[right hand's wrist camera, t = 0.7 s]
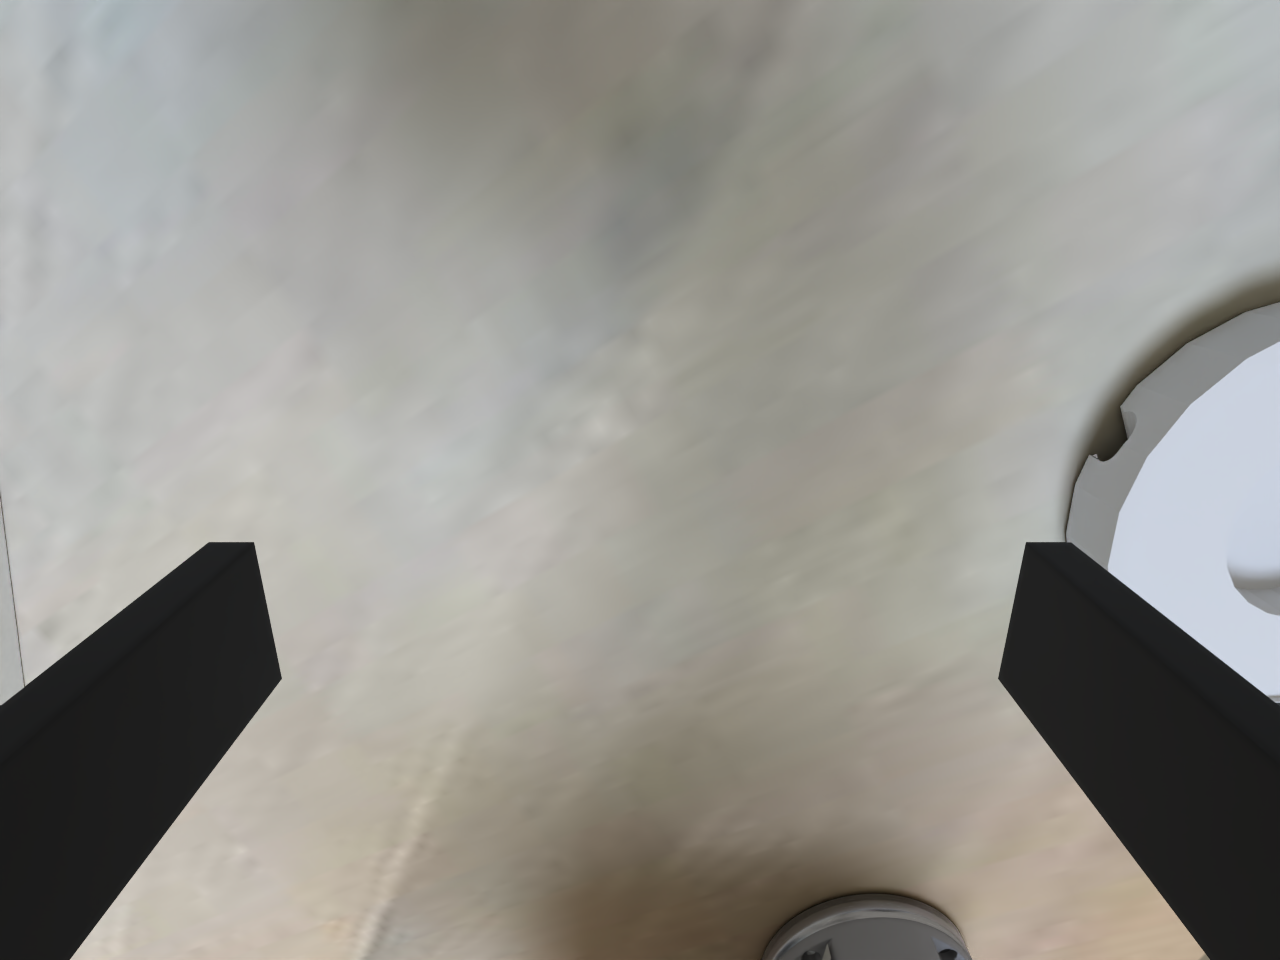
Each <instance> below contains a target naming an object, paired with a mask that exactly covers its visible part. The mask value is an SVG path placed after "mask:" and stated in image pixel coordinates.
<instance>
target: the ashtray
mask: <svg viewBox="0 0 1280 960" xmlns="http://www.w3.org/2000/svg"><path fill="white" fill-rule="evenodd" d="M1120 408H1121V412H1122V416H1123V421H1124V425H1125V429H1126V434H1127V438H1128V440H1127V441H1126V442H1125V443H1124V444H1123V446H1122V447H1121V448H1120V450H1119V451H1118V452H1117V453H1116V454H1115V455H1114V456H1113V457H1112V458H1111V459H1109V460H1108V461H1105V462H1102V461H1100V460H1099V459H1098V457H1097V454H1095V455H1089V456H1088V458H1087V460H1086V463H1085V465H1084V467H1083V469H1082V471H1081V473H1080V475H1079V477H1078V479H1077V482H1076V484H1075V488H1074V494H1073V499H1072V504H1071V510H1070V515H1069V520H1068V526H1067V531H1066V538H1067V542H1071V543H1073V544H1074V545H1075V546H1076V547H1078V548H1079V549H1080V550H1082V551H1083V552H1084V553H1085V554H1087V555H1088V556H1089V557H1090V558H1092V559H1093V560H1094V561H1096V562H1097V563H1098V564H1099V565H1101V566H1102V567H1103V568H1104V569H1106V570H1107V571H1108V572H1110V573H1111V574H1112V575H1113V576H1115V577H1116V578H1117V579H1118V580H1120V581H1121V582H1122V583H1124V584H1125V585H1126V586H1127V587H1129V588H1130V589H1131V590H1132V591H1134V592H1135V593H1136V594H1138V595H1139V596H1140V597H1141V598H1143V599H1144V600H1145V601H1147V602H1148V603H1149V604H1150V605H1152V606H1153V607H1154V608H1155V609H1157V610H1158V611H1159V612H1161V613H1162V614H1163V615H1164V616H1166V617H1167V618H1168V619H1169V620H1171V621H1172V622H1173V623H1175V624H1176V625H1177V626H1178V627H1180V628H1181V629H1182V630H1183V631H1185V632H1186V633H1187V634H1189V635H1190V636H1191V637H1192V638H1194V639H1195V640H1196V641H1198V642H1199V643H1200V644H1201V645H1203V646H1204V647H1205V648H1206V649H1208V650H1209V651H1210V652H1212V653H1213V654H1214V655H1215V656H1217V657H1218V658H1219V659H1220V660H1222V661H1223V662H1224V663H1226V664H1227V665H1228V666H1229V667H1231V668H1232V669H1233V670H1234V671H1236V672H1237V673H1238V674H1240V675H1241V676H1242V677H1243V678H1245V679H1246V680H1247V681H1249V682H1250V683H1251V684H1252V685H1254V686H1255V687H1256V688H1257V689H1259V690H1260V691H1261V692H1263V693H1264V694H1265V695H1266V696H1268V697H1269V698H1270V699H1271V700H1273V701H1274V702H1275V703H1280V302H1278V303H1275V304H1271V305H1268V306H1264V307H1261V308H1257V309H1254V310H1250V311H1247V312H1244V313H1243V314H1241V315H1239V316H1237V317H1235V318H1233V319H1231V320H1229V321H1228V322H1226V323H1224V324H1222V325H1220V326H1218V327H1216V328H1215V329H1213V330H1211V331H1209V332H1207V333H1205V334H1203V335H1202V336H1200V337H1198V338H1196V339H1194V340H1192V341H1190V342H1189V343H1187V344H1186V345H1185V346H1183V347H1182V348H1181V349H1180V350H1179V351H1177V352H1176V353H1175V354H1174V355H1173V356H1171V357H1170V358H1169V359H1168V360H1167V361H1165V362H1164V363H1163V364H1162V365H1161V366H1159V367H1158V368H1157V369H1156V370H1155V371H1153V372H1152V373H1151V374H1150V375H1149V376H1148V377H1146V378H1145V379H1144V380H1143V381H1142V382H1140V383H1139V384H1138V385H1137V386H1136V387H1135V389H1134V390H1133V391H1132V392H1131V394H1130V395H1129V396H1128V397H1127V399H1126V400H1125V401H1124V403H1123V404H1122V405H1121V406H1120Z"/></svg>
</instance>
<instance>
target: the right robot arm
mask: <svg viewBox="0 0 1280 960" xmlns="http://www.w3.org/2000/svg"><path fill="white" fill-rule="evenodd" d="M281 679H282V677H281V672H280V668H279V663H278V658H277V653H276V648H275V643H274V638H273V633H272V628H271V623H270V619H269V614H268V609H267V604H266V599H265V594H264V589H263V584H262V579H261V574H260V569H259V565H258V560H257V555H256V550H255V545H254V542H209V543H207V544H206V545H205V546H204V547H202V548H201V549H200V550H198V551H197V552H196V553H195V554H193V555H192V556H191V557H190V558H188V559H187V560H186V561H184V562H183V563H182V564H181V565H179V566H178V567H177V568H176V569H174V570H173V571H172V572H170V573H169V574H168V575H167V576H165V577H164V578H163V579H162V580H160V581H159V582H158V583H156V584H155V585H154V586H153V587H151V588H150V589H149V590H148V591H146V592H145V593H144V594H142V595H141V596H140V597H139V598H137V599H136V600H135V601H133V602H132V603H131V604H130V605H128V606H127V607H126V608H125V609H123V610H122V611H121V612H119V613H118V614H117V615H116V616H114V617H113V618H112V619H111V620H109V621H108V622H107V623H105V624H104V625H103V626H102V627H100V628H99V629H98V630H97V631H95V632H94V633H93V634H91V635H90V636H89V637H88V638H86V639H85V640H84V641H82V642H81V643H80V644H79V645H77V646H76V647H75V648H74V649H72V650H71V651H70V652H68V653H67V654H66V655H65V656H63V657H62V658H61V659H60V660H58V661H57V662H56V663H54V664H53V665H52V666H51V667H49V668H48V669H47V670H46V671H44V672H43V673H42V674H40V675H39V676H38V677H37V678H35V679H34V680H33V681H31V682H30V683H29V684H28V685H26V686H25V687H24V688H23V689H21V690H20V691H19V692H17V693H16V694H15V695H14V696H12V697H11V698H10V699H9V700H7V701H6V702H5V703H3V704H2V705H0V960H70V959H71V957H72V956H73V955H74V953H75V952H76V951H77V949H78V948H79V947H80V945H81V944H82V943H83V941H84V940H85V939H86V937H87V936H88V935H89V933H90V932H91V931H92V929H93V928H94V927H95V926H96V924H97V923H98V922H99V920H100V919H101V918H102V916H103V915H104V914H105V912H106V911H107V910H108V908H109V907H110V906H111V904H112V903H113V902H114V900H115V899H116V898H117V896H118V895H119V894H120V892H121V891H122V890H123V888H124V887H125V886H126V884H127V883H128V882H129V880H130V879H131V878H132V876H133V875H134V874H135V873H136V871H137V870H138V869H139V867H140V866H141V865H142V863H143V862H144V861H145V859H146V858H147V857H148V855H149V854H150V853H151V851H152V850H153V849H154V847H155V846H156V845H157V843H158V842H159V841H160V839H161V838H162V837H163V835H164V834H165V833H166V831H167V830H168V829H169V827H170V826H171V825H172V823H173V822H174V821H175V820H176V818H177V817H178V816H179V814H180V813H181V812H182V810H183V809H184V808H185V806H186V805H187V804H188V802H189V801H190V800H191V798H192V797H193V796H194V794H195V793H196V792H197V790H198V789H199V788H200V786H201V785H202V784H203V782H204V781H205V780H206V778H207V777H208V776H209V774H210V773H211V772H212V771H213V769H214V768H215V767H216V765H217V764H218V763H219V761H220V760H221V759H222V757H223V756H224V755H225V753H226V752H227V751H228V749H229V748H230V747H231V745H232V744H233V743H234V741H235V740H236V739H237V737H238V736H239V735H240V733H241V732H242V731H243V729H244V728H245V727H246V725H247V724H248V723H249V721H250V720H251V719H252V718H253V716H254V715H255V714H256V712H257V711H258V710H259V708H260V707H261V706H262V704H263V703H264V702H265V700H266V699H267V698H268V696H269V695H270V694H271V692H272V691H273V690H274V688H275V687H276V686H277V684H278V683H279V682H280V680H281ZM998 679H999V680H1000V682H1001V683H1002V684H1003V686H1004V687H1005V688H1006V690H1007V691H1008V692H1009V694H1010V695H1011V696H1012V698H1013V699H1014V700H1015V702H1016V703H1017V704H1018V706H1019V707H1020V708H1021V710H1022V711H1023V712H1024V714H1025V715H1026V716H1027V718H1028V719H1029V720H1030V721H1031V723H1032V724H1033V725H1034V727H1035V728H1036V729H1037V731H1038V732H1039V733H1040V735H1041V736H1042V737H1043V739H1044V740H1045V741H1046V743H1047V744H1048V745H1049V747H1050V748H1051V749H1052V751H1053V752H1054V753H1055V755H1056V756H1057V757H1058V759H1059V760H1060V761H1061V763H1062V764H1063V765H1064V767H1065V768H1066V769H1067V771H1068V772H1069V773H1070V774H1071V776H1072V777H1073V778H1074V780H1075V781H1076V782H1077V784H1078V785H1079V786H1080V788H1081V789H1082V790H1083V792H1084V793H1085V794H1086V796H1087V797H1088V798H1089V800H1090V801H1091V802H1092V804H1093V805H1094V806H1095V808H1096V809H1097V810H1098V812H1099V813H1100V814H1101V816H1102V817H1103V818H1104V820H1105V821H1106V822H1107V824H1108V825H1109V826H1110V827H1111V829H1112V830H1113V831H1114V833H1115V834H1116V835H1117V837H1118V838H1119V839H1120V841H1121V842H1122V843H1123V845H1124V846H1125V847H1126V849H1127V850H1128V851H1129V853H1130V854H1131V855H1132V857H1133V858H1134V859H1135V861H1136V862H1137V863H1138V865H1139V866H1140V867H1141V869H1142V870H1143V871H1144V873H1145V874H1146V875H1147V876H1148V878H1149V879H1150V880H1151V882H1152V883H1153V884H1154V886H1155V887H1156V888H1157V890H1158V891H1159V892H1160V894H1161V895H1162V896H1163V898H1164V899H1165V900H1166V902H1167V903H1168V904H1169V906H1170V907H1171V908H1172V910H1173V911H1174V912H1175V914H1176V915H1177V916H1178V918H1179V919H1180V920H1181V922H1182V923H1183V924H1184V926H1185V927H1186V928H1187V929H1188V931H1189V932H1190V933H1191V935H1192V936H1193V937H1194V939H1195V940H1196V941H1197V943H1198V944H1199V945H1200V947H1201V948H1202V949H1203V951H1204V952H1205V953H1206V955H1207V956H1208V957H1209V959H1210V960H1280V703H1275V702H1274V701H1273V700H1271V699H1270V698H1269V697H1268V696H1266V695H1265V694H1264V693H1263V692H1261V691H1260V690H1259V689H1257V688H1256V687H1255V686H1254V685H1252V684H1251V683H1250V682H1249V681H1247V680H1246V679H1245V678H1243V677H1242V676H1241V675H1240V674H1238V673H1237V672H1236V671H1234V670H1233V669H1232V668H1231V667H1229V666H1228V665H1227V664H1226V663H1224V662H1223V661H1222V660H1220V659H1219V658H1218V657H1217V656H1215V655H1214V654H1213V653H1212V652H1210V651H1209V650H1208V649H1206V648H1205V647H1204V646H1203V645H1201V644H1200V643H1199V642H1198V641H1196V640H1195V639H1194V638H1192V637H1191V636H1190V635H1189V634H1187V633H1186V632H1185V631H1183V630H1182V629H1181V628H1180V627H1178V626H1177V625H1176V624H1175V623H1173V622H1172V621H1171V620H1169V619H1168V618H1167V617H1166V616H1164V615H1163V614H1162V613H1161V612H1159V611H1158V610H1157V609H1155V608H1154V607H1153V606H1152V605H1150V604H1149V603H1148V602H1147V601H1145V600H1144V599H1143V598H1141V597H1140V596H1139V595H1138V594H1136V593H1135V592H1134V591H1132V590H1131V589H1130V588H1129V587H1127V586H1126V585H1125V584H1124V583H1122V582H1121V581H1120V580H1118V579H1117V578H1116V577H1115V576H1113V575H1112V574H1111V573H1110V572H1108V571H1107V570H1106V569H1104V568H1103V567H1102V566H1101V565H1099V564H1098V563H1097V562H1096V561H1094V560H1093V559H1092V558H1090V557H1089V556H1088V555H1087V554H1085V553H1084V552H1083V551H1082V550H1080V549H1079V548H1078V547H1076V546H1075V545H1074V544H1073V543H1071V542H1026V545H1025V550H1024V555H1023V560H1022V565H1021V569H1020V574H1019V579H1018V584H1017V589H1016V594H1015V599H1014V604H1013V609H1012V614H1011V618H1010V623H1009V628H1008V633H1007V638H1006V643H1005V648H1004V653H1003V658H1002V663H1001V667H1000V672H999V677H998ZM762 960H972V958H971V956H970V954H969V952H968V949H967V947H966V945H965V942H964V940H963V938H962V936H961V934H960V932H959V931H958V929H957V928H956V926H955V925H954V924H953V923H952V922H951V921H950V920H949V919H948V918H947V917H946V916H945V915H943V914H942V913H941V912H939V911H938V910H936V909H934V908H933V907H931V906H929V905H927V904H925V903H922V902H920V901H917V900H914V899H910V898H907V897H902V896H897V895H889V894H859V895H851V896H846V897H841V898H837V899H833V900H830V901H827V902H824V903H821V904H819V905H816V906H814V907H812V908H810V909H808V910H806V911H804V912H802V913H801V914H799V915H797V916H796V917H794V918H793V919H792V920H790V921H789V922H788V923H786V924H785V925H784V926H783V927H782V928H781V929H780V930H779V931H778V932H777V933H776V934H775V936H774V937H773V938H772V940H771V941H770V942H769V944H768V946H767V948H766V950H765V952H764V954H763V957H762Z"/></svg>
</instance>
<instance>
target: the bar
mask: <svg viewBox="0 0 1280 960" xmlns="http://www.w3.org/2000/svg"><path fill="white" fill-rule="evenodd" d="M23 688H24V681H23V673H22V665H21V657H20V649H19V641H18V634H17V626H16V618H15V610H14V602H13V594H12V586H11V579H10V571H9V563H8V555H7V547H6V539H5V532H4V524H3V516H2V508H1V500H0V705H2V704H3V703H5V702H6V701H7V700H9V699H10V698H11V697H12V696H14V695H15V694H16V693H17V692H19V691H20V690H21V689H23Z"/></svg>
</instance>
